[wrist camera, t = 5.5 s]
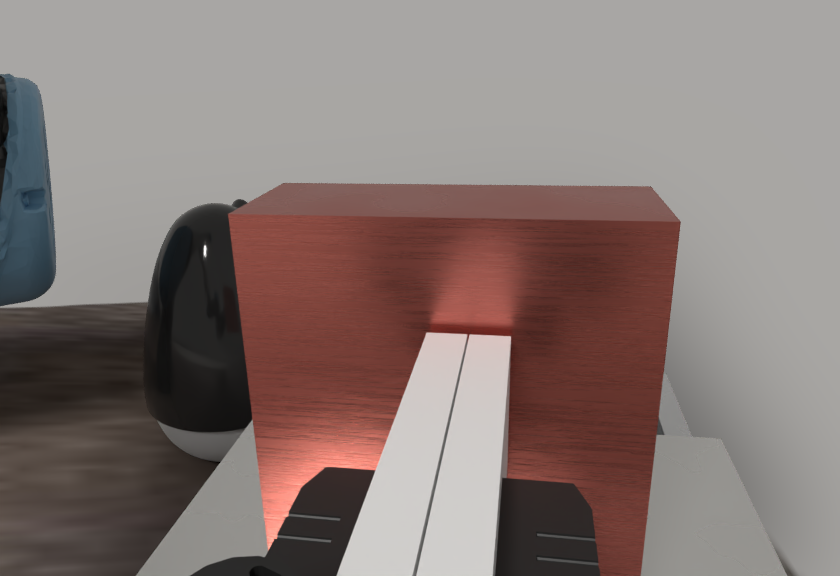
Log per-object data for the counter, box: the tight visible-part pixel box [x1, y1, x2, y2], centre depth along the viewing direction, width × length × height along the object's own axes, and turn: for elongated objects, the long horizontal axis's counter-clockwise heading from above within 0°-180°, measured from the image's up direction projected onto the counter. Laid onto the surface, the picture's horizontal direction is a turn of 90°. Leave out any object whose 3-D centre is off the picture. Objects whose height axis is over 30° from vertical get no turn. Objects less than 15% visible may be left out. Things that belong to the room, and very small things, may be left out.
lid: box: [136, 183, 787, 576], centre depth 15 cm, size 17×17×11 cm
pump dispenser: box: [143, 199, 252, 462], centre depth 41 cm, size 10×10×15 cm
